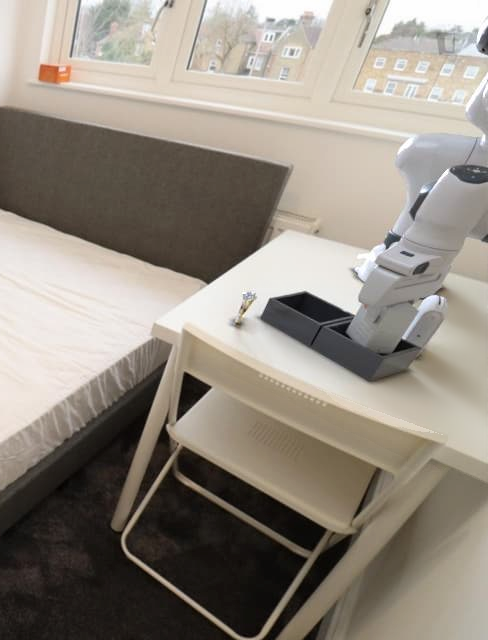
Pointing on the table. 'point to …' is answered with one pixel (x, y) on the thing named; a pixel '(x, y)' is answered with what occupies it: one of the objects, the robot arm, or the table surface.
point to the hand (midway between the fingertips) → (382, 318)
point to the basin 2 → (362, 353)
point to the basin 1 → (302, 315)
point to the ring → (245, 305)
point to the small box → (382, 327)
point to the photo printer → (427, 321)
